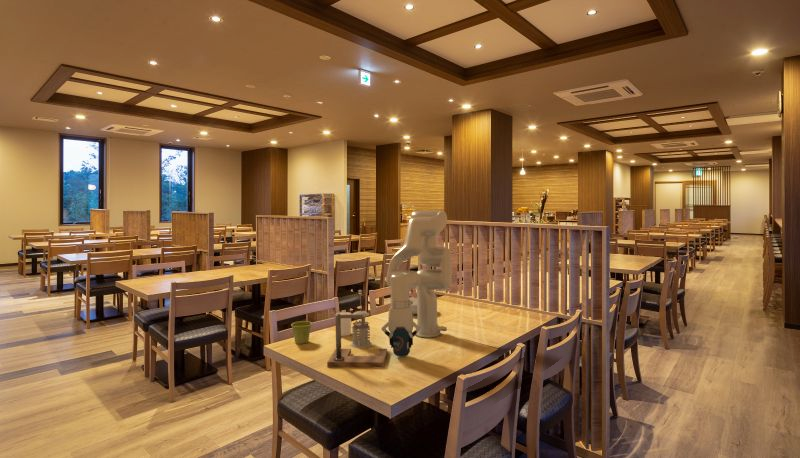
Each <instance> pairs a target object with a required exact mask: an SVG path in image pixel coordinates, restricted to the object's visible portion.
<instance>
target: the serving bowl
mask: <svg viewBox="0 0 800 458" xmlns="http://www.w3.org/2000/svg"><path fill="white" fill-rule="evenodd" d="M409 300H410V301H413V304H411V305H409V306H411V308H412V313H413V316H415V315H417V297H409Z"/></svg>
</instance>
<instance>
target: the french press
mask: <svg viewBox="0 0 800 458" xmlns="http://www.w3.org/2000/svg"><path fill="white" fill-rule="evenodd" d="M357 291H358V292H357V293H359V296H360V297H359V300H360V307H359V308H360V310H358V311H355V312H353V313H351V315H363V317H365V318H367V317H369V316H370V315H371V314H370V313H369V312H367V311H365V310H362V304H361V303H362V299H361V297H362V293H363V290H362V289H359V290H357ZM352 324H353V326H351V328H352V329H351V331H352V332H351V333H352V343H351V344H350V347H352V348H354V349H365V348H369V347H371V346H373V343H372V342H371V340H370V339H371V337H370V336H371V335H370V330H371V329H370V325H369V324H370V322H368V321H365V325H362V320H361V319H359V320H357V319H356V320H355V321H354V322H353V323H352Z"/></svg>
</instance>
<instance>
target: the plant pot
mask: <svg viewBox="0 0 800 458" xmlns="http://www.w3.org/2000/svg"><path fill="white" fill-rule="evenodd" d="M312 324H313V323H312V322H311V321H309V320H308V321H307V320H300V321H295V322H292V323H291V324H290V326H291V327H292V331H293V338H294V343H295V344H298V345H302V344H308V343H309V341H310V332H311V328H312Z"/></svg>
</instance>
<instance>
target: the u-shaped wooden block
mask: <svg viewBox="0 0 800 458" xmlns="http://www.w3.org/2000/svg"><path fill="white" fill-rule="evenodd" d="M351 354H352V348H341V356H342V357H344V360H342V361H334V357H336V348H335V349H334V350H333V352H332V354H331V356H330V357H329V358H328V360H327V362H326V363H327V366H326V367H327V368H385V363H386V360H387V357H388V348H378V351H377V354H376V355H351Z"/></svg>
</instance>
